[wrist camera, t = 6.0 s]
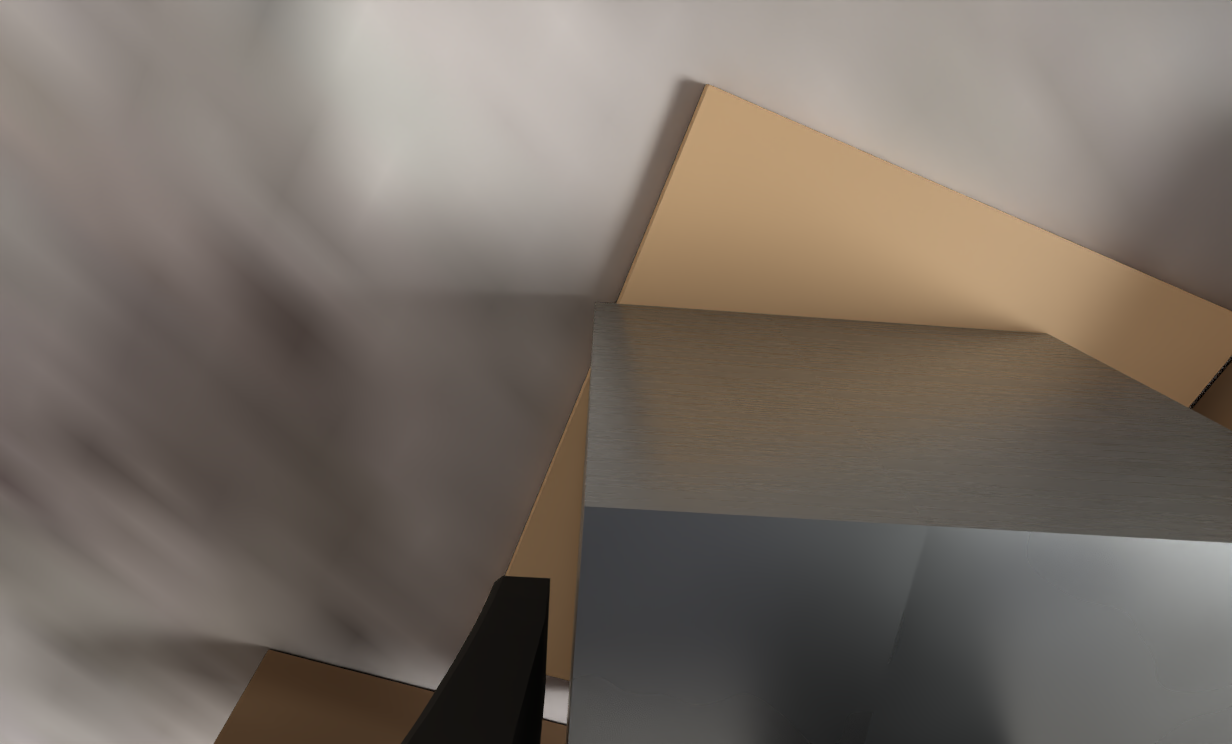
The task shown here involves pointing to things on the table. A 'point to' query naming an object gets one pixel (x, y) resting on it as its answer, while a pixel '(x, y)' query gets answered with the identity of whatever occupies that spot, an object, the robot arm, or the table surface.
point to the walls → (385, 710)
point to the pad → (859, 283)
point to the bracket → (892, 540)
